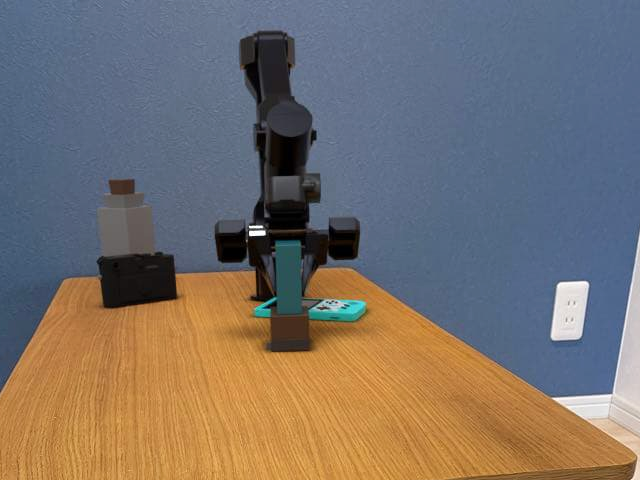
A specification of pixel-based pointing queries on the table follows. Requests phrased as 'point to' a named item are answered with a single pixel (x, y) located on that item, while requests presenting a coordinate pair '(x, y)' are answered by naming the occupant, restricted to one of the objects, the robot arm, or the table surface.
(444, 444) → the table surface
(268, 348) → the dark grey flat tile
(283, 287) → the teal post in base
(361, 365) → the table surface
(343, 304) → the handheld game console
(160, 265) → the camera
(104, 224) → the perfume bottle
